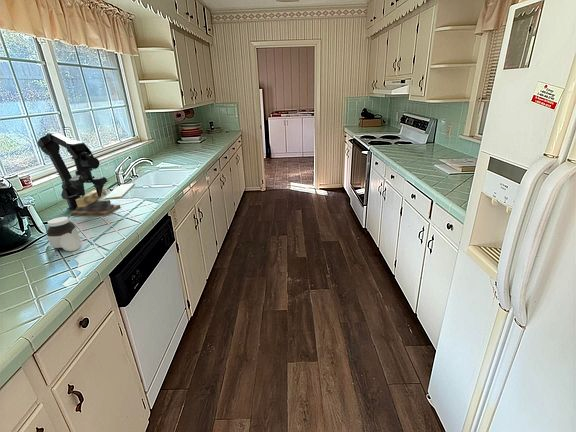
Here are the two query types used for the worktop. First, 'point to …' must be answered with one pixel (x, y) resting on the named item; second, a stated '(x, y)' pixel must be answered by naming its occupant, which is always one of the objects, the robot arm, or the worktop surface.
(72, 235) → the spread jar
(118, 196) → the baseboard molding
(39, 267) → the worktop surface
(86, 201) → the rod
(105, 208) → the ridge stand
